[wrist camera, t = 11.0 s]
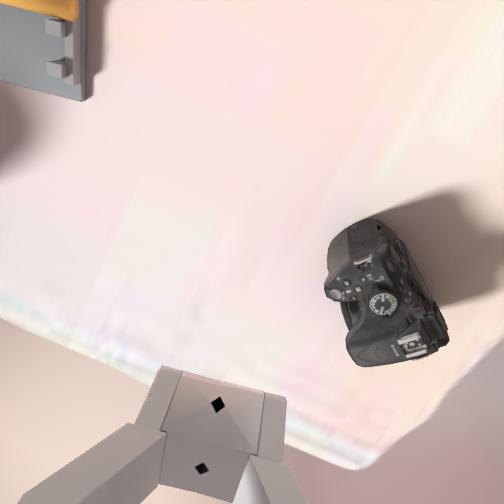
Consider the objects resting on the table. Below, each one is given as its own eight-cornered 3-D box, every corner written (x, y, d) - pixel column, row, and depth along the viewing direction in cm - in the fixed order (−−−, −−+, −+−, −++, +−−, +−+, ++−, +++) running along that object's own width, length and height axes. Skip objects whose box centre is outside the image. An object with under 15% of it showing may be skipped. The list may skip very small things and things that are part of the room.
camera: (297, 271, 42) (293, 336, 33) (364, 201, 37) (379, 254, 28) (393, 337, 44) (412, 413, 36) (467, 279, 40) (510, 350, 31)
